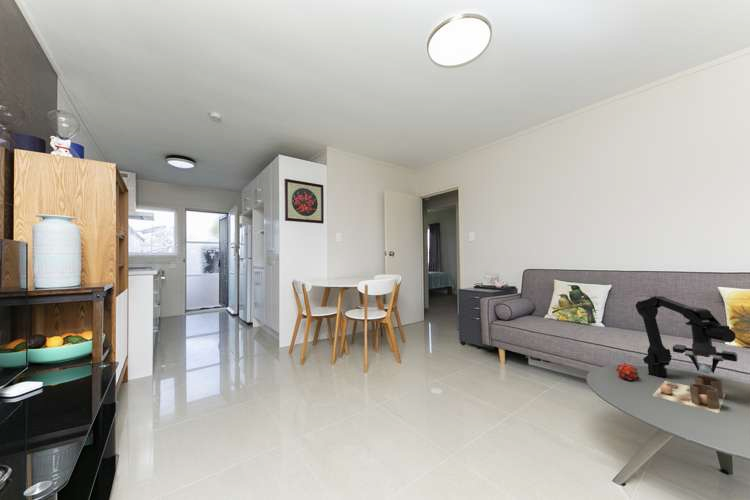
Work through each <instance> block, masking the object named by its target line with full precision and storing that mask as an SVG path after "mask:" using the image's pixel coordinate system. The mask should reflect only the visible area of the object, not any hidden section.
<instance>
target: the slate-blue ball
mask: <svg viewBox="0 0 750 500" xmlns="http://www.w3.org/2000/svg"><path fill="white" fill-rule="evenodd" d="M699 371H700V372H702V373H704V374H711V373H712V366H710V365H709V364H707V363H700V364H699Z"/></svg>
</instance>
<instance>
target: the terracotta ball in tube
mask: <svg viewBox="0 0 750 500" xmlns="http://www.w3.org/2000/svg"><path fill="white" fill-rule="evenodd" d="M699 397H700V402H701V403H702V404H705V405H708V403H707V395H705V394H700V395H699Z"/></svg>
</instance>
